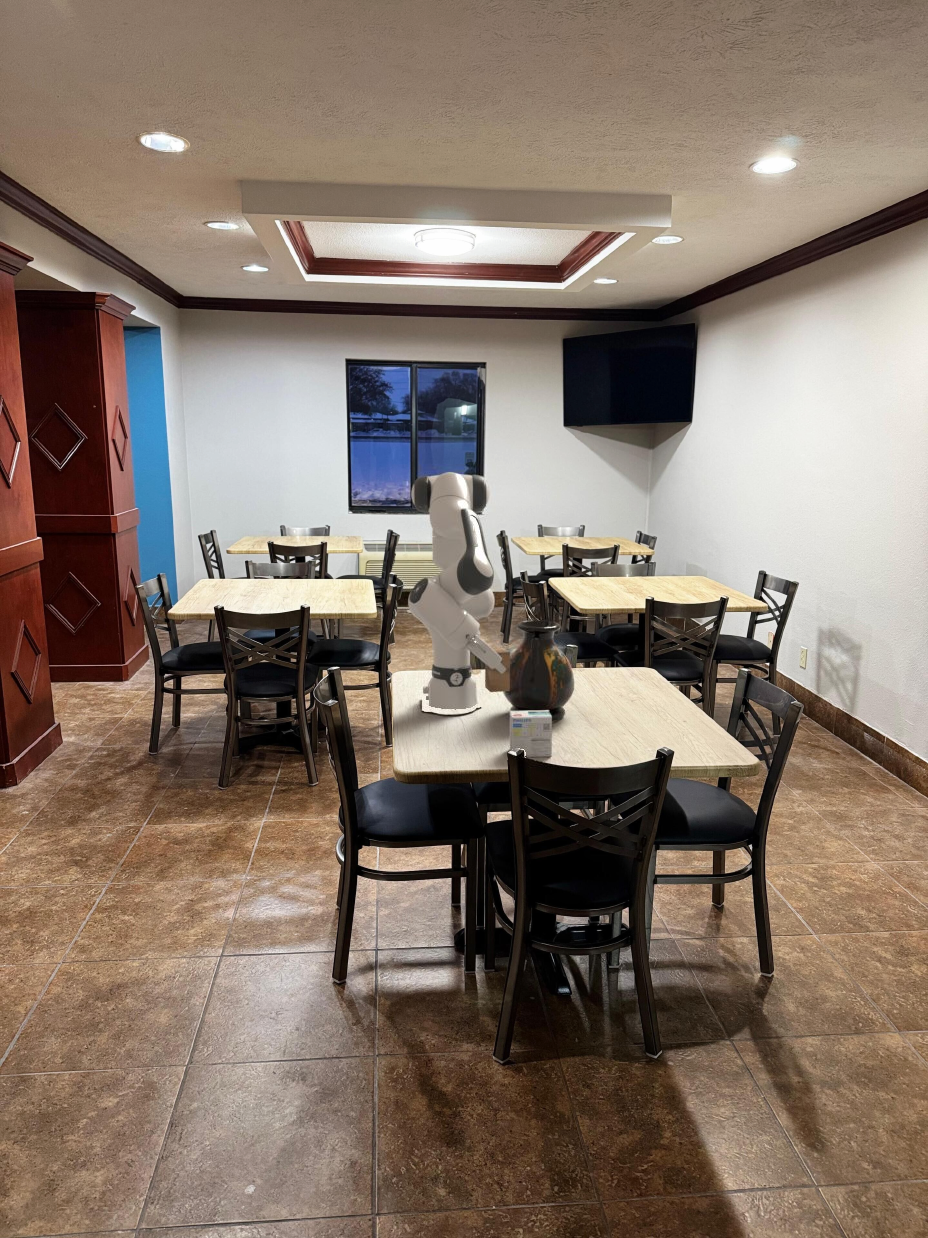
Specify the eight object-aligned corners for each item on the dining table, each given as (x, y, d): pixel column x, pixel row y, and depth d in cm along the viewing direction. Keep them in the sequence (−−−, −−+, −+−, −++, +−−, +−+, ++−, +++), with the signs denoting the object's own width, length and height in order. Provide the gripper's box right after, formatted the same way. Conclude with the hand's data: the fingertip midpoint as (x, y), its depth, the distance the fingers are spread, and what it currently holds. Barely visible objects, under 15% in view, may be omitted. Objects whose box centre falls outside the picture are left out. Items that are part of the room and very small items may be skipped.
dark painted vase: (570, 729, 239) (572, 631, 234) (495, 724, 243) (496, 629, 238) (576, 708, 260) (578, 618, 255) (507, 704, 264) (507, 616, 259)
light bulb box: (549, 748, 222) (549, 709, 220) (552, 757, 216) (553, 716, 214) (508, 749, 222) (508, 709, 220) (510, 758, 215) (511, 717, 213)
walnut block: (485, 687, 215) (485, 648, 214) (503, 686, 217) (504, 647, 215) (490, 692, 211) (490, 653, 209) (509, 691, 212) (510, 652, 210)
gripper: (482, 630, 199) (521, 668, 203) (461, 615, 218) (497, 650, 222) (463, 650, 199) (503, 687, 203) (444, 633, 218) (480, 668, 222)
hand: (499, 668), depth 213 cm, fingers closed on walnut block, 5 cm apart
